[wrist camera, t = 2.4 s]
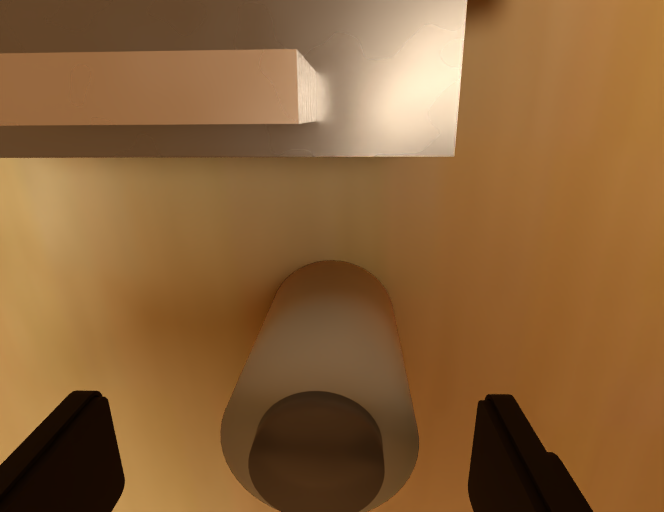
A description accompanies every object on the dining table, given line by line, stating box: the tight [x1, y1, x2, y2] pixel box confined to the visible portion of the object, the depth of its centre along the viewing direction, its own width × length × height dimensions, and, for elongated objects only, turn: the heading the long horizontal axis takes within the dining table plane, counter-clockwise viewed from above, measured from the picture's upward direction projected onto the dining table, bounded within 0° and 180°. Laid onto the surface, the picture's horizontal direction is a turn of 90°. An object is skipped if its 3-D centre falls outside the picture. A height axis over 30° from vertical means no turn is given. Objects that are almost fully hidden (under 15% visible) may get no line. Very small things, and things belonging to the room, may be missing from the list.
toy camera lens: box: [221, 260, 419, 512], centre depth 14 cm, size 5×5×8 cm
